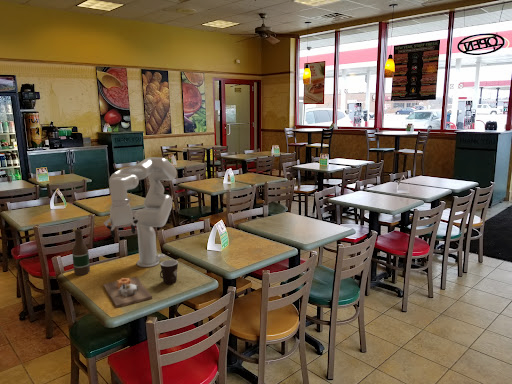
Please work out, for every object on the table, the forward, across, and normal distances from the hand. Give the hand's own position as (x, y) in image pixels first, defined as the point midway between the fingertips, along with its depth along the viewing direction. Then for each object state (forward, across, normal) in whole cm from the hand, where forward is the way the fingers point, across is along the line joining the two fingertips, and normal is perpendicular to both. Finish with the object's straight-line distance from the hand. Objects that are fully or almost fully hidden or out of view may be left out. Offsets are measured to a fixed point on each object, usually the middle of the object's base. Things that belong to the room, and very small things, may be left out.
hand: (123, 235), depth 197 cm
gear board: (+23, +5, +16) cm, 28 cm away
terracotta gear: (+22, +5, +11) cm, 25 cm away
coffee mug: (+24, -15, +16) cm, 33 cm away
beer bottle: (+24, +18, -21) cm, 37 cm away
